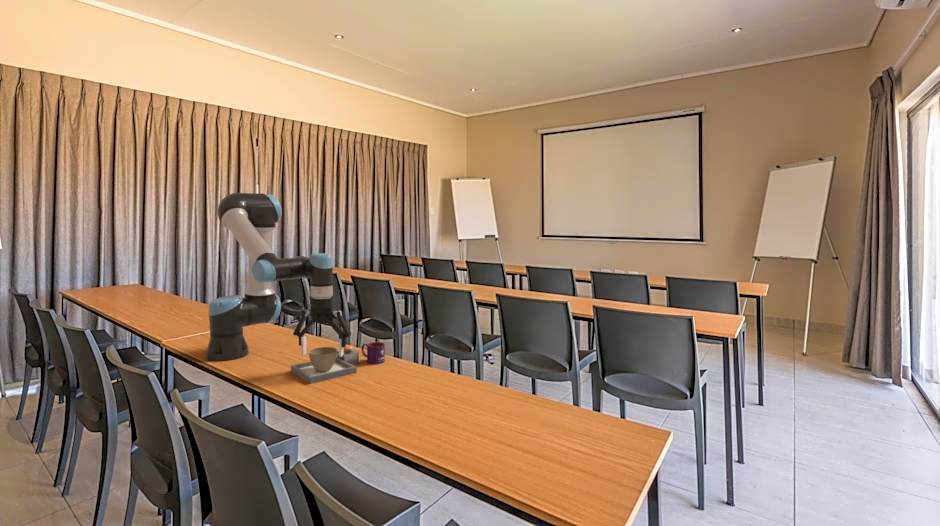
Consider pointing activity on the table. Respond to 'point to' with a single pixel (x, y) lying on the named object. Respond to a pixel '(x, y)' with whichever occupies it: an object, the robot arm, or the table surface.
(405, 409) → the table surface
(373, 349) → the cup
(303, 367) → the tray
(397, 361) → the table surface
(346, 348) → the button
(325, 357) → the flower pot
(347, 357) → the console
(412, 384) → the table surface
